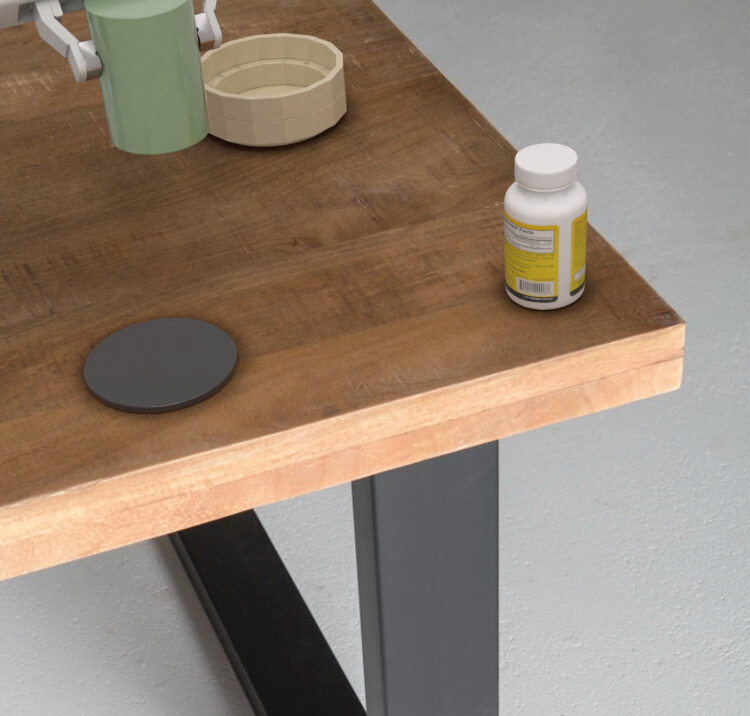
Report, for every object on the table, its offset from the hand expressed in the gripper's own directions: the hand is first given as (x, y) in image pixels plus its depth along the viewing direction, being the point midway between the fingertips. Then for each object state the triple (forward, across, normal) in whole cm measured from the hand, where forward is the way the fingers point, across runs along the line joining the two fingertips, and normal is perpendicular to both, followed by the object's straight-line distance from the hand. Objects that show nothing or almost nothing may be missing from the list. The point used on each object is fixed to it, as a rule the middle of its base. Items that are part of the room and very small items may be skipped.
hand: (151, 61), depth 86 cm
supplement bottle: (+20, +21, +4) cm, 30 cm away
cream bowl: (-4, +16, +28) cm, 33 cm away
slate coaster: (+16, -4, +8) cm, 19 cm away
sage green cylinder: (+3, 0, +4) cm, 5 cm away
